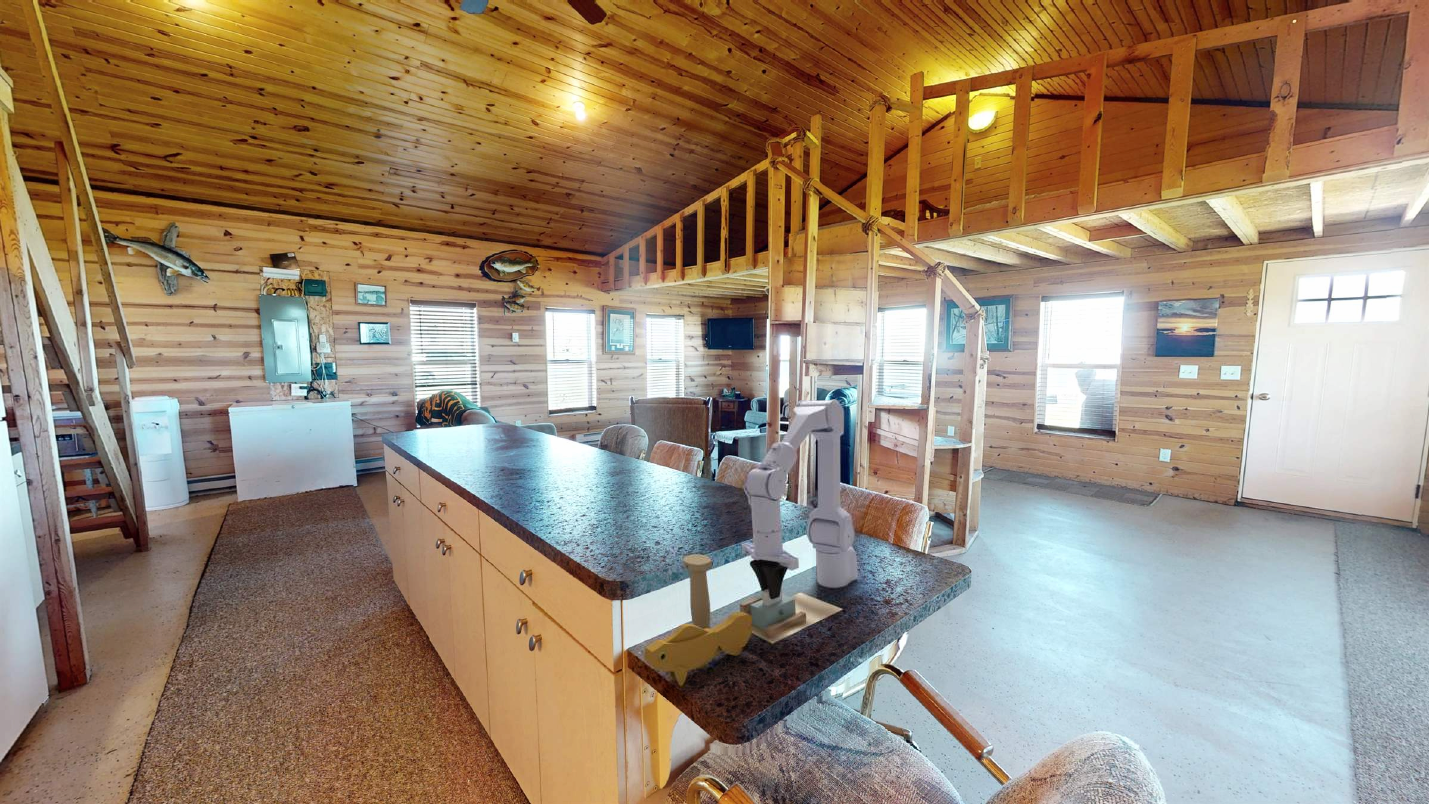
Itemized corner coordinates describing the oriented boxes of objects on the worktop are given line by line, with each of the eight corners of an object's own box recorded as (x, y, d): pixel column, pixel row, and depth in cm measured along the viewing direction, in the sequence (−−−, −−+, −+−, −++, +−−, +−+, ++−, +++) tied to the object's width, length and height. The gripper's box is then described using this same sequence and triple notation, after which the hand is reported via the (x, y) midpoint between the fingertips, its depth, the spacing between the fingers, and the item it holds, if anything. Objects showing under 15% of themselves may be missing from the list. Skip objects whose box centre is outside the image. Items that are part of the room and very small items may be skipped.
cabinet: (780, 611, 108) (778, 580, 108) (799, 619, 104) (796, 587, 104) (751, 624, 104) (749, 592, 103) (769, 633, 99) (767, 599, 99)
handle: (700, 643, 99) (695, 566, 99) (683, 631, 105) (678, 558, 104) (721, 635, 102) (716, 560, 102) (703, 624, 107) (698, 552, 107)
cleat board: (800, 596, 117) (799, 575, 117) (843, 613, 108) (841, 590, 108) (731, 626, 105) (730, 602, 105) (772, 648, 96) (771, 622, 96)
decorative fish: (648, 694, 82) (656, 628, 83) (638, 685, 84) (646, 622, 85) (751, 671, 96) (757, 615, 97) (740, 664, 98) (746, 610, 99)
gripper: (728, 526, 107) (733, 591, 107) (778, 541, 95) (782, 613, 96) (754, 519, 111) (758, 581, 112) (804, 532, 100) (808, 602, 100)
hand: (771, 596), depth 104 cm, fingers closed on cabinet
